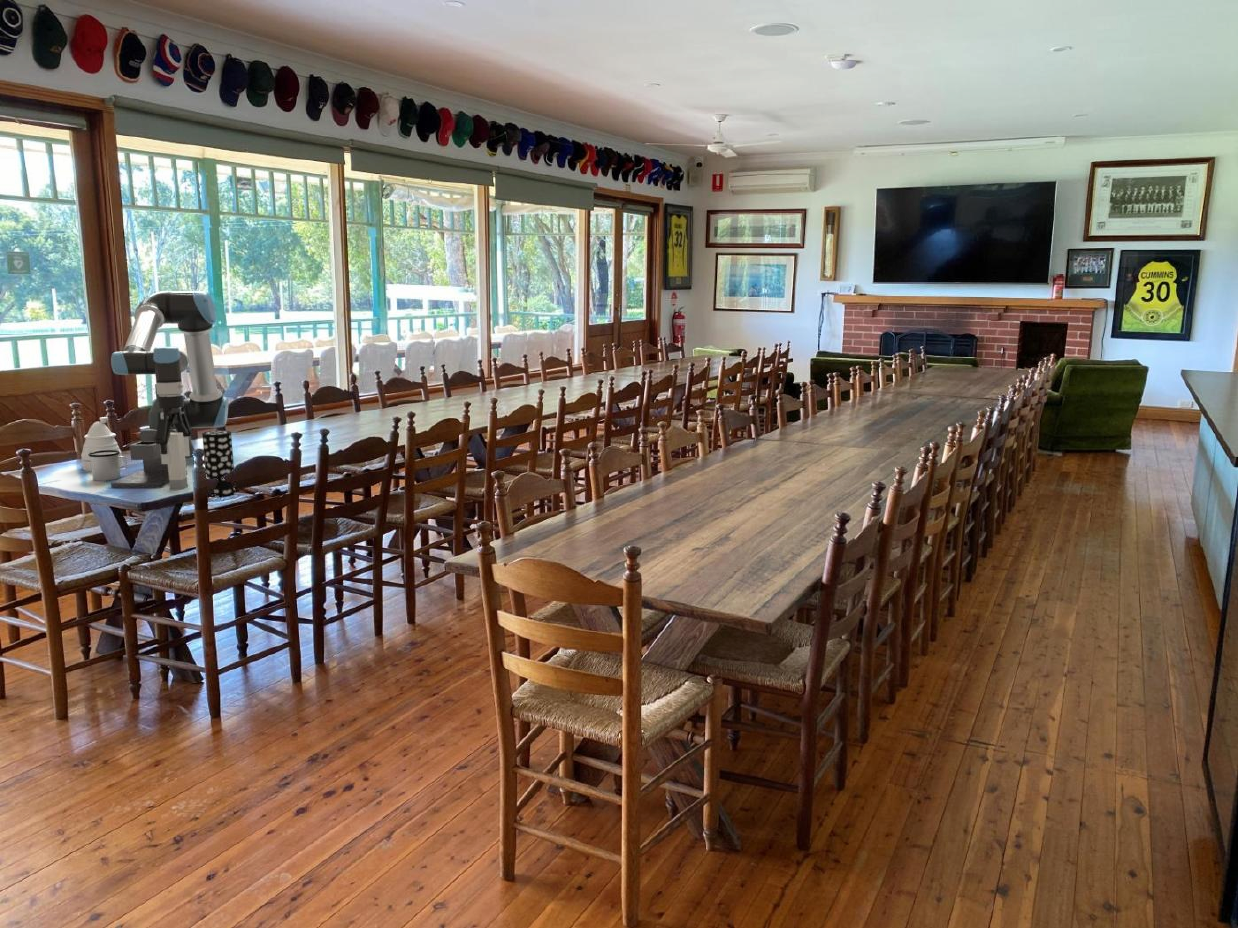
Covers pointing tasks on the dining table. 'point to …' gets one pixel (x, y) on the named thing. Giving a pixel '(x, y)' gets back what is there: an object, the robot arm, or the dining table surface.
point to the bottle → (155, 415)
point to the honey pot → (98, 442)
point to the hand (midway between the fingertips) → (176, 460)
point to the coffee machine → (146, 464)
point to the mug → (106, 465)
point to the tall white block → (177, 462)
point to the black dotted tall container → (219, 460)
